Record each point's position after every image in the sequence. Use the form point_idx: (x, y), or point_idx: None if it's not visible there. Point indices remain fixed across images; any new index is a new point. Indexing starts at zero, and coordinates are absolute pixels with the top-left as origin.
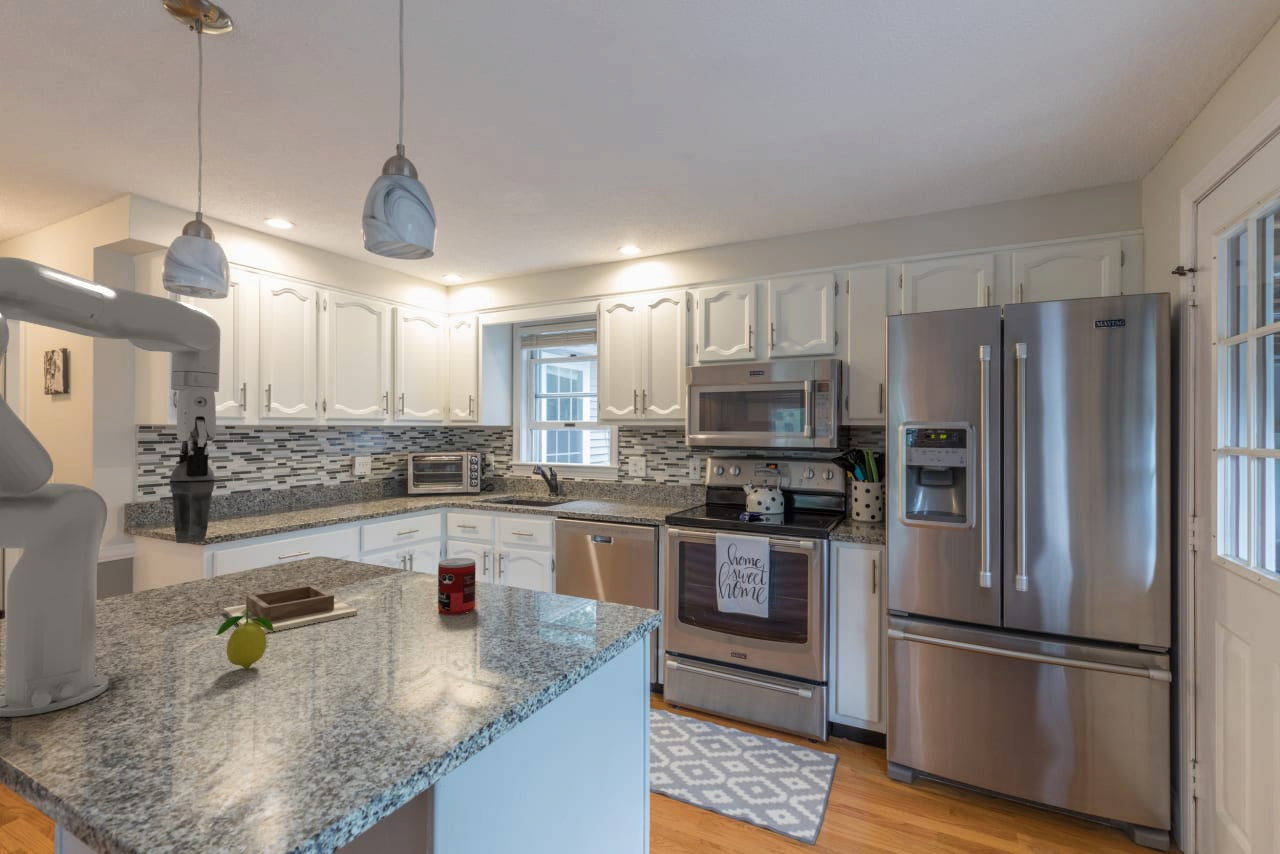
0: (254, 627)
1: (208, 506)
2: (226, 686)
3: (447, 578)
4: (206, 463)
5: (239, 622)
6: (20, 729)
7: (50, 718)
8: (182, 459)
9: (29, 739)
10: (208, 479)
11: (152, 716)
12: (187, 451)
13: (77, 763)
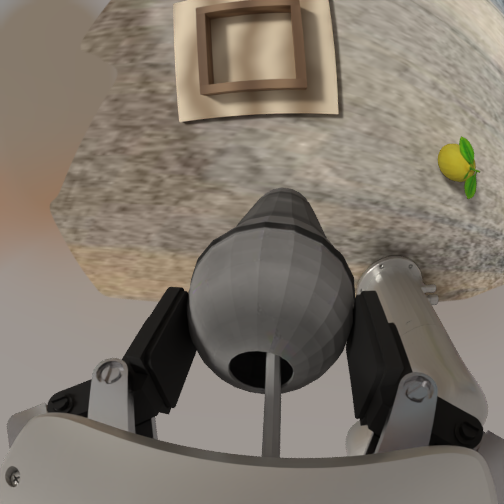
0: (474, 162)
1: (308, 214)
2: None
3: None
4: (390, 334)
5: (275, 113)
6: None
7: None
8: (178, 390)
9: (448, 294)
10: (342, 267)
11: (476, 239)
12: (151, 410)
13: (493, 275)
